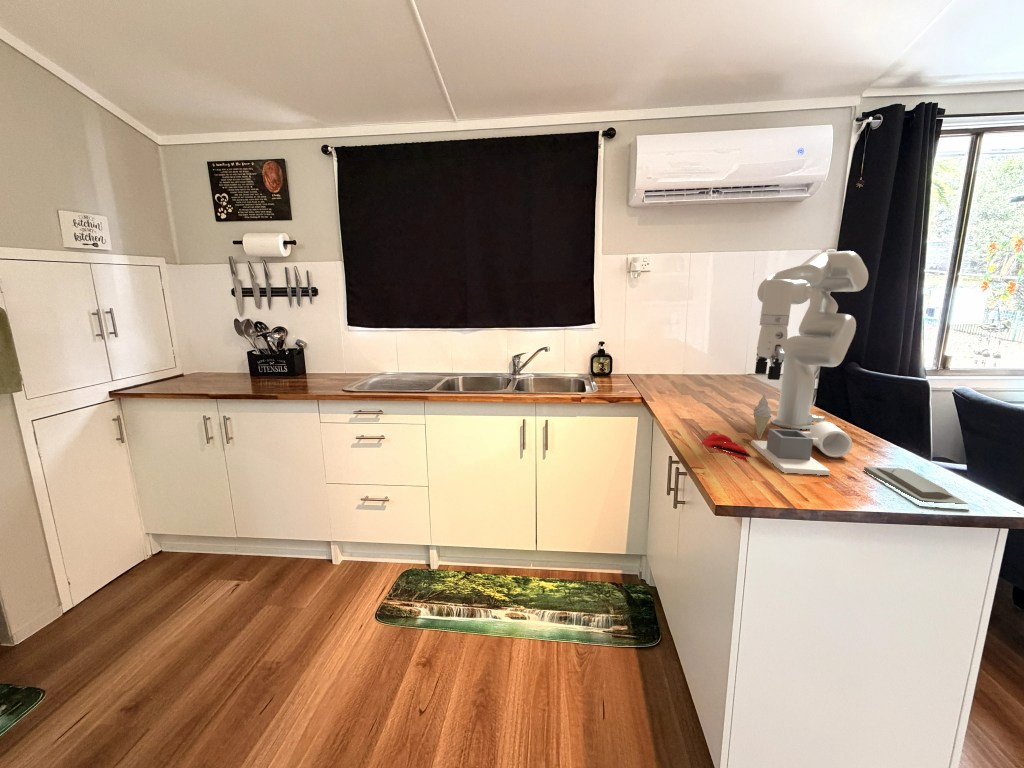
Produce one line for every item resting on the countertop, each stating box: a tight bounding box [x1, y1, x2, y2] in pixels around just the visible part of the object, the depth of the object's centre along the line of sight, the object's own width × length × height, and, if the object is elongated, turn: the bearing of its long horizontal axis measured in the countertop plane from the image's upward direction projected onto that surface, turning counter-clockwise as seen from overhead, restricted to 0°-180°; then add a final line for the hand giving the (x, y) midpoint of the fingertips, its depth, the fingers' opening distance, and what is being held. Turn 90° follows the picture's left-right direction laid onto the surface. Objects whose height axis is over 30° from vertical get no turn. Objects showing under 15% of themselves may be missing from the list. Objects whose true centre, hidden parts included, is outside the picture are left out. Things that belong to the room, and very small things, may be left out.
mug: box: [802, 421, 853, 458], centre depth 131 cm, size 12×10×8 cm
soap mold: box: [863, 466, 969, 504], centre depth 106 cm, size 10×20×4 cm, turn 170°
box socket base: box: [750, 428, 831, 476], centre depth 124 cm, size 11×22×8 cm, turn 172°
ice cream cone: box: [752, 393, 772, 441], centre depth 140 cm, size 5×5×15 cm
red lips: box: [701, 432, 752, 463], centre depth 136 cm, size 26×14×2 cm, turn 164°
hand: (766, 376), depth 137 cm, fingers open, 9 cm apart
